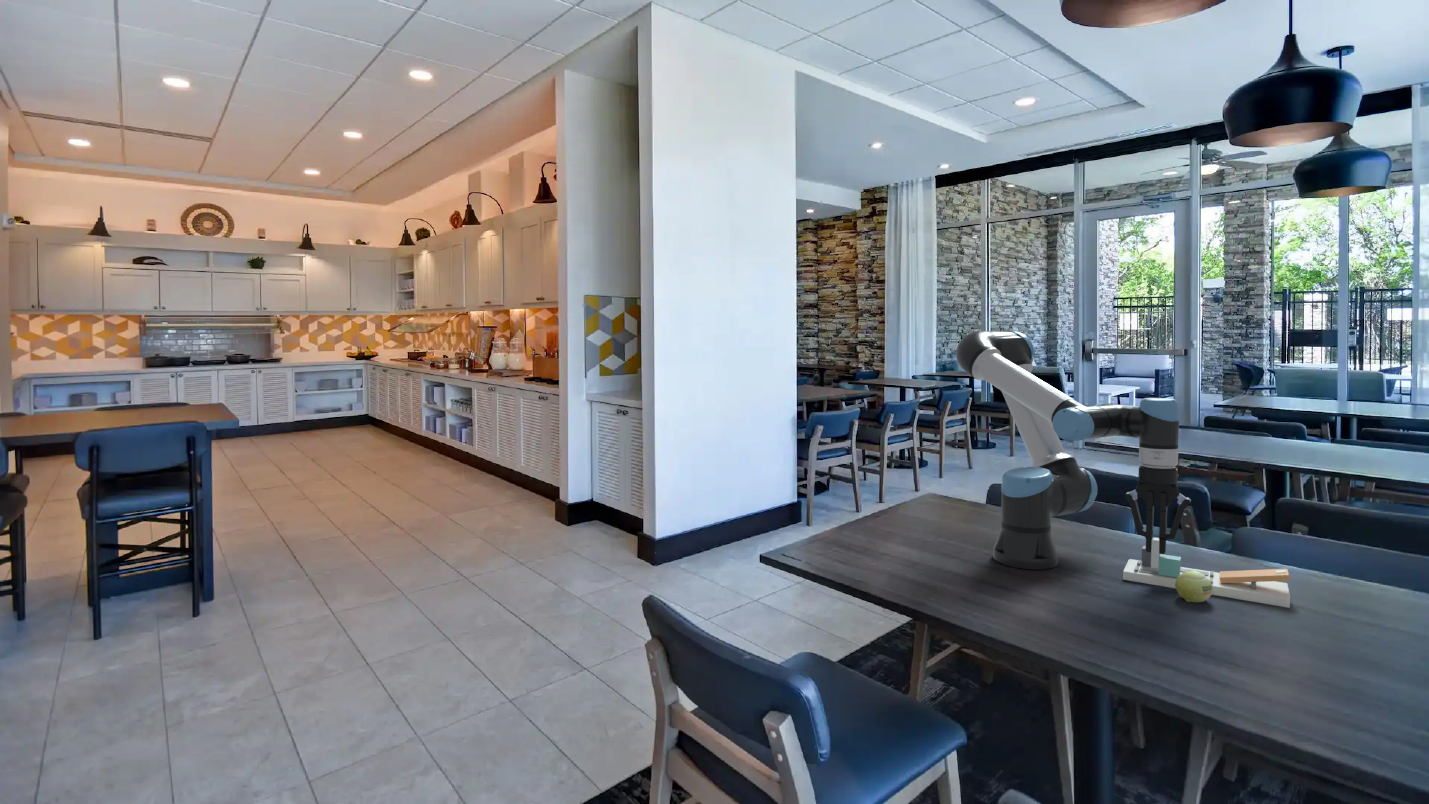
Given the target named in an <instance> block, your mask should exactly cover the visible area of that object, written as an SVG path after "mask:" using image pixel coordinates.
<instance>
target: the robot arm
mask: <svg viewBox="0 0 1429 804" xmlns="http://www.w3.org/2000/svg"><path fill="white" fill-rule="evenodd" d="M956 347H957V348H956V351H955V355H956V361H957V363H958V365H959V367H960V368H961V369H962V370H963V371H964V372H965V373H967V375H969V376H971V377H972V378H974V379H975V380H977V381H985V382H987V383H989V384H990V385H992V386H994V387H995V388H996V389H998V390H1000V392H1001V393H1002V396H1003V398H1004V401H1005V402H1006V405H1007V407H1008V409H1009V410H1008V411H1009V412H1010V413H1011V416H1012V417H1011V418H1012V419H1013V421H1014V423H1015V426H1016V428H1017V430H1018V432H1019V435H1020V437H1021V440H1022V442H1023V444H1024V447H1025V450H1026V451H1027V455H1028V456H1029V458H1030V461H1031V462H1032V465H1031V466H1026V467H1021V466H1020V467H1016V468H1011V469H1009V470H1007V471H1006V472H1005V473H1003V475H1002V480H1001V486H1000V491H1001V495H1000V498H1001V499H1000V501H1001V502H1000V504H1001V505H1000V507H1001V508H1000V530H999V532H998V535H997V538H996V540H995V544H994V545H993V550H992V558H993V560H994V561H996V562H998V563H1000V564H1003V565H1005V566H1007V567H1008V566H1009V567H1012V568H1018V569H1025V570H1026V569H1027V570H1048V569H1053V568H1055V567H1057V566H1058V565H1059V564H1058V563H1059V555H1058V551H1057V548H1056V545H1055V542H1054V539H1053V536H1052V518H1053V517H1060V516H1065V515H1075V514H1077V513H1080V512H1083V511H1087V510H1088V509H1090V507H1092V505H1093V504H1094V503H1095V500H1096V498H1097V495H1098V484H1097V481H1096V479H1095V477H1094V475H1093V473H1091V471H1089V470H1087V469H1085V468H1083V467H1081V466H1080V467H1079V464H1078V462H1077V460H1076V458H1075V456H1073V455H1071V454H1068V453H1067V452H1066V451H1065V448H1064V447H1063V444H1062V442H1061V440H1060V439H1062V440H1065V441H1073V442H1076V441H1077V442H1078V441H1084V440H1092V439H1099V438H1101V439H1102V438H1107V437H1108V438H1109V437H1126V438H1127V437H1128V438H1136V439H1138V440H1139V441H1138V443H1139V446H1138V463H1139V464H1140V465H1139V466H1138V479H1137V480H1138V483H1137V485H1136V486H1135V489H1134V490H1132V491H1127V492H1126V493H1125V494H1124V498H1125V499H1126V501H1127V502H1128V505H1129V507H1130V511H1131V514H1132V519H1133V522H1134V527H1135V530H1136V533H1137V535H1138V536H1142V537H1144V539H1145V546H1146V551H1147V552H1151V568H1157V569H1159V556H1160V554H1164V555H1166V554H1165V553H1166V551H1167V541H1168V540H1174V539H1175V538H1176V535H1177V534H1178V533H1177V532H1178V530H1179V527H1180V524H1181V522H1182V518H1183V515H1184V513H1185V509H1186V508H1188V506H1189V505H1190V504H1191V502H1192V499H1191V498H1190V497H1188V496H1187V497H1186V496H1185V495H1183V494H1182V493H1181V491H1180V488H1179V487H1178V478H1179V477H1178V476H1179V475H1178V474H1179V472H1178V471H1179V470H1178V468H1177V467H1176V466H1177V465H1179V433H1180V432H1179V430H1180V421H1181V417H1180V405H1179V402H1178V400H1176V399H1175V398H1167V397H1165V398H1164V397H1144V398H1142V399H1140V403H1139V405H1127V404H1125V405H1124V404H1116V403H1115V404H1114V403H1096V404H1094V405H1093V406H1086V405H1084V404H1082V403H1081V402H1078V401H1076V399H1074V398H1072V397H1070V396H1068V395H1067V394H1065V393H1064V392H1062V391H1060V390H1058V389H1057V388H1055V387H1053V386H1052V385H1050V384H1049V383H1047V382H1045V381H1043V380H1042V379H1040V378H1038V377H1037V376H1035V375H1034V374H1033V373H1032V372H1033V369H1034V366H1033V361H1034V360H1035V359H1034V358H1035V357H1034V355H1035V348H1034V345H1033V343H1032V340H1031V339H1030V338H1029V337H1028V336H1027V335H1026V334H1024V333H1023V332H1019V331H1014V330H1011V329H1010V330H1009V329H1008V330H999V331H998V330H977V331H973V332H970V333H968V334H966V335H964V336H963V338H961V340H960V341H959V343H958V345H957V346H956ZM1138 497H1140V499H1141V500H1142V501H1143V503H1145V504H1146V509H1145V510H1146V517H1145V518H1146V520H1145V521H1146V522H1145V524H1146V526H1145V528H1144V524H1143V520H1142V517H1141V512H1140V510H1139V505H1138V501H1137V500H1138ZM1175 500H1177V505H1178V507H1177V510H1176V513H1175V517H1174V519H1173V522H1172V525H1171V527H1170V530H1169V532H1167V531H1168V530H1167V529H1168V528H1167V527H1168V507H1169V506H1170V505H1171V504H1172V503H1173V502H1174V501H1175ZM1155 506H1157V507H1159V528H1158V530H1159V532H1158V534H1159V535H1158V537H1154V522H1155V521H1154V517H1155V514H1154V513H1155Z"/></svg>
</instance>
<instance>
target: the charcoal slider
mask: <svg viewBox="0 0 1429 804" xmlns="http://www.w3.org/2000/svg"><path fill="white" fill-rule="evenodd" d="M1141 561H1142V563H1141V565H1145V566H1151V552H1147V551H1146V545H1143V546H1142V548H1141Z"/></svg>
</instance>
